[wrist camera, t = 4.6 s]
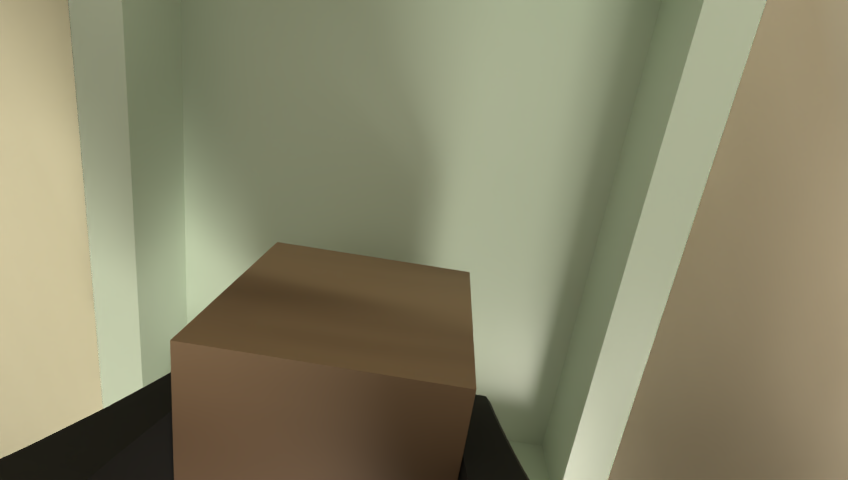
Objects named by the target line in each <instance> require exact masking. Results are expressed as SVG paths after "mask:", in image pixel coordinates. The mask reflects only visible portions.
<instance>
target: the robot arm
mask: <svg viewBox="0 0 848 480" xmlns="http://www.w3.org/2000/svg"><path fill="white" fill-rule="evenodd" d="M0 480H174V464H173V428H172V392H171V372H170V373H168V374H167V375H165V376H163V377H161V378H159V379H158V380H156V381H154V382H152V383H150V384H149V385H147V386H145V387H143V388H141V389H139V390H137V391H136V392H134V393H132V394H130V395H128V396H126V397H124V398H123V399H121V400H119V401H117V402H115V403H113V404H111V405H110V406H108V407H106V408H104V409H102V410H100V411H98V412H96V413H94V414H92V415H90V416H88V417H86V418H84V419H82V420H80V421H78V422H76V423H74V424H72V425H70V426H68V427H66V428H64V429H62V430H60V431H58V432H56V433H54V434H52V435H50V436H48V437H46V438H44V439H42V440H40V441H38V442H36V443H34V444H32V445H30V446H28V447H25V448H23V449H21V450H19V451H17V452H14V453H12V454H10V455H8V456H6V457H3V458H1V459H0ZM458 480H530V479H529V478H528V476H527V474H526V472H525V471H524V469H523V467H522V465H521V464H520V462H519V460H518V458H517V456H516V454H515V453H514V451H513V449H512V447H511V445H510V443H509V441H508V439H507V437H506V435H505V433H504V431H503V429H502V427H501V425H500V423H499V420H498V418H497V416H496V414H495V412H494V410H493V407H492V405H491V403H490V401H489V400H488V398H487V397H486V396H482V395H476V394H475V399H474V404H473V408H472V413H471V418H470V423H469V428H468V433H467V437H466V442H465V447H464V452H463V457H462V462H461V466H460V471H459V476H458Z"/></svg>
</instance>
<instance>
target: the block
mask: <svg viewBox="0 0 848 480" xmlns="http://www.w3.org/2000/svg"><path fill="white" fill-rule="evenodd" d="M170 356H171V392H172V428H173V464H174V480H458V476H459V471H460V466H461V462H462V457H463V452H464V447H465V442H466V437H467V433H468V428H469V423H470V418H471V413H472V408H473V404H474V399H475V394H476V374H475V356H474V339H473V322H472V305H471V287H470V272H466V271H460V270H453V269H447V268H440V267H434V266H428V265H421V264H415V263H408V262H402V261H396V260H389V259H383V258H376V257H370V256H364V255H357V254H351V253H344V252H338V251H332V250H325V249H319V248H313V247H306V246H300V245H293V244H287V243H281V242H277V243H276V244H275V245H273V246H272V247H271V248H270V249H269V250H268V251H267V252H266V253H265V254H264V255H263V256H261V257H260V258H259V259H258V260H257V261H256V262H255V263H254V264H253V265H252V266H251V267H249V268H248V269H247V270H246V271H245V272H244V273H243V274H242V275H241V276H240V277H239V278H237V279H236V280H235V281H234V282H233V283H232V284H231V285H230V286H229V287H228V288H227V289H225V290H224V291H223V292H222V293H221V294H220V295H219V296H218V297H217V298H216V299H215V300H213V301H212V302H211V303H210V304H209V305H208V306H207V307H206V308H205V309H204V310H203V311H201V312H200V313H199V314H198V315H197V316H196V317H195V318H194V319H193V320H192V321H191V322H190V323H188V324H187V325H186V326H185V327H184V328H183V329H182V330H181V331H180V332H179V333H178V334H176V335H175V336H174V337H173V338H172V339H171V340H170Z"/></svg>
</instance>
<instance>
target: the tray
mask: <svg viewBox="0 0 848 480" xmlns="http://www.w3.org/2000/svg"><path fill="white" fill-rule="evenodd" d="M766 1H767V0H68V6H69V18H70V29H71V41H72V53H73V64H74V76H75V87H76V99H77V111H78V122H79V134H80V146H81V157H82V169H83V181H84V192H85V204H86V216H87V227H88V239H89V250H90V262H91V274H92V285H93V297H94V309H95V320H96V332H97V344H98V355H99V367H100V378H101V390H102V402H103V409H104V408H106V407H108V406H110V405H111V404H113V403H115V402H117V401H119V400H121V399H123V398H124V397H126V396H128V395H130V394H132V393H134V392H136V391H137V390H139V389H141V388H143V387H145V386H147V385H149V384H150V383H152V382H154V381H156V380H158V379H159V378H161V377H163V376H165V375H167V374H168V373H170V372H171V356H170V340H171V339H172V338H173V337H174V336H175V335H176V334H178V333H179V332H180V331H181V330H182V329H183V328H184V327H185V326H186V325H187V324H188V323H190V322H191V321H192V320H193V319H194V318H195V317H196V316H197V315H198V314H199V313H200V312H201V311H203V310H204V309H205V308H206V307H207V306H208V305H209V304H210V303H211V302H212V301H213V300H215V299H216V298H217V297H218V296H219V295H220V294H221V293H222V292H223V291H224V290H225V289H227V288H228V287H229V286H230V285H231V284H232V283H233V282H234V281H235V280H236V279H237V278H239V277H240V276H241V275H242V274H243V273H244V272H245V271H246V270H247V269H248V268H249V267H251V266H252V265H253V264H254V263H255V262H256V261H257V260H258V259H259V258H260V257H261V256H263V255H264V254H265V253H266V252H267V251H268V250H269V249H270V248H271V247H272V246H273V245H275V244H276V243H277V242H281V243H287V244H293V245H300V246H306V247H313V248H319V249H325V250H332V251H338V252H344V253H351V254H357V255H364V256H370V257H376V258H383V259H389V260H396V261H402V262H408V263H415V264H421V265H428V266H434V267H440V268H447V269H453V270H460V271H466V272H470V287H471V305H472V322H473V339H474V356H475V374H476V395H482V396H486V397H487V398H488V400H489V401H490V403H491V405H492V407H493V410H494V412H495V414H496V416H497V418H498V420H499V423H500V425H501V427H502V429H503V431H504V433H505V435H506V437H507V439H508V441H509V443H510V445H511V447H512V449H513V451H514V453H515V454H516V456H517V458H518V460H519V462H520V464H521V465H522V467H523V469H524V471H525V472H526V474H527V476H528V478H529V479H530V480H608V478H609V475H610V472H611V469H612V466H613V463H614V460H615V457H616V454H617V451H618V448H619V445H620V442H621V439H622V435H623V432H624V429H625V426H626V423H627V420H628V417H629V414H630V411H631V408H632V405H633V402H634V399H635V396H636V393H637V390H638V387H639V384H640V381H641V378H642V375H643V372H644V369H645V366H646V363H647V360H648V357H649V354H650V351H651V348H652V345H653V342H654V339H655V336H656V333H657V330H658V327H659V324H660V321H661V318H662V315H663V312H664V309H665V306H666V303H667V300H668V297H669V294H670V291H671V288H672V285H673V282H674V279H675V276H676V273H677V270H678V267H679V264H680V261H681V258H682V255H683V252H684V249H685V246H686V243H687V240H688V237H689V234H690V230H691V227H692V224H693V221H694V218H695V215H696V212H697V209H698V206H699V203H700V200H701V197H702V194H703V191H704V188H705V185H706V182H707V179H708V176H709V173H710V170H711V167H712V164H713V161H714V158H715V155H716V152H717V149H718V146H719V143H720V140H721V137H722V134H723V131H724V128H725V125H726V122H727V119H728V116H729V113H730V110H731V107H732V104H733V101H734V98H735V95H736V92H737V89H738V86H739V83H740V80H741V77H742V74H743V71H744V68H745V65H746V62H747V59H748V56H749V53H750V50H751V47H752V44H753V41H754V38H755V35H756V32H757V29H758V25H759V22H760V19H761V16H762V13H763V10H764V7H765V4H766Z"/></svg>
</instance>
